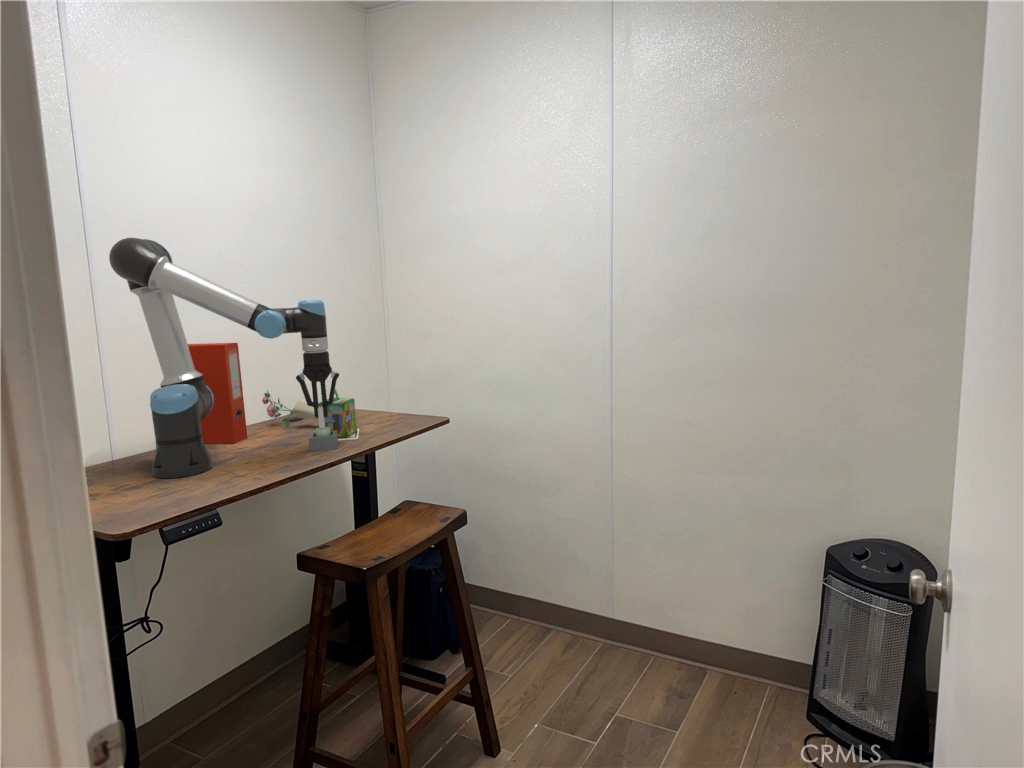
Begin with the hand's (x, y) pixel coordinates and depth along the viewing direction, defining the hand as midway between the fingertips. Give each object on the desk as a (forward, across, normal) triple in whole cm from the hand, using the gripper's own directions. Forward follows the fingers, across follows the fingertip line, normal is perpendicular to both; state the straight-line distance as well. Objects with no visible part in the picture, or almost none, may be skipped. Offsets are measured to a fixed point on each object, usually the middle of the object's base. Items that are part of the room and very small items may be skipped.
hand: (322, 427), depth 206 cm
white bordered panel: (+6, +4, +13) cm, 15 cm away
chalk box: (+6, +4, +13) cm, 15 cm away
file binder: (+6, -36, +21) cm, 42 cm away
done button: (+4, 0, 0) cm, 4 cm away
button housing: (+6, 0, 0) cm, 6 cm away
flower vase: (+6, -10, +32) cm, 34 cm away
